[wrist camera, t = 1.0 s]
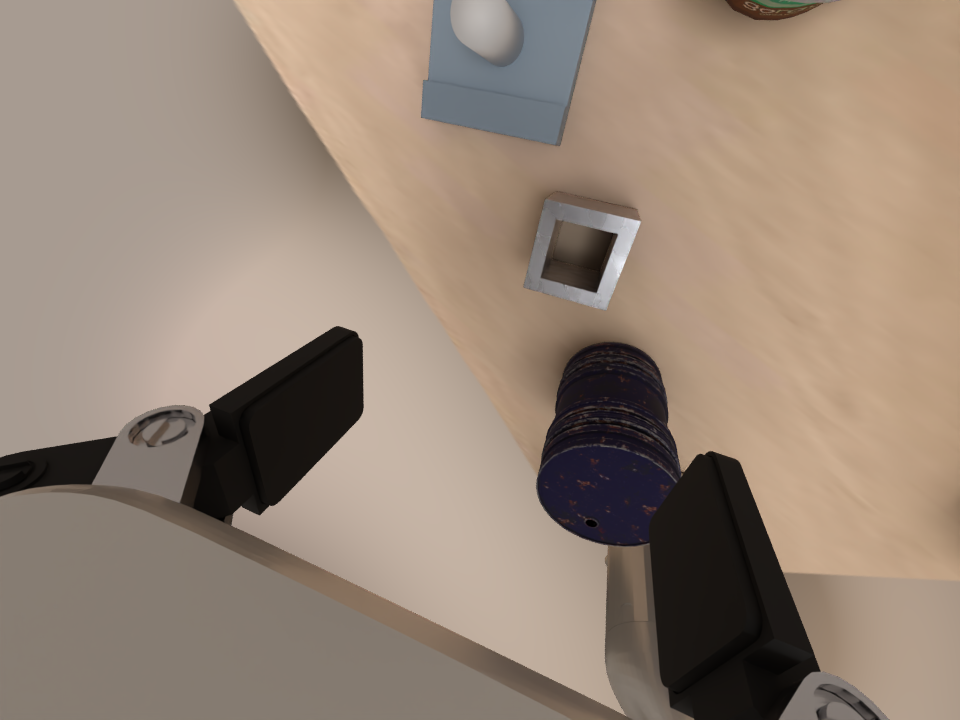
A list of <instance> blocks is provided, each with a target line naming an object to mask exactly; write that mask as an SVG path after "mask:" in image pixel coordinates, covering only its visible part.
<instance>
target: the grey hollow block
mask: <svg viewBox="0 0 960 720" xmlns="http://www.w3.org/2000/svg"><path fill="white" fill-rule="evenodd" d="M562 221H566V222H570V223H574V224H578V225H582V226H587V227H591V228H595V229H599V230H603V231H607V232H611V233H614V234H613V237H612V240H611V242H610V245H609V248H608V251H607V254H606V256H605V259H604V262H603V265H602V267H601V270H600V272H599V271H596V270H592V269H588V268H584V267H581V266H577V265H573V264H569V263H565V262H562V261H558V260H554V259H552V257H553V253H554V250H555V246H556V243H557V239H558V236H559V232H560V229H561V225H562ZM640 223H641V219H640V216H639V213H638V210H637V209H633V208H628V207H624V206H620V205H615V204H611V203H607V202H602V201H598V200H593V199H589V198H585V197H580V196H576V195H572V194H567V193H563V192H558V191H557V192H555V193H554V194H552V195H551V196H549V197H548V198H546V199H545V202H544V206H543V210H542V214H541V218H540V222H539V226H538V230H537V234H536V238H535V242H534V246H533V250H532V254H531V258H530V262H529V266H528V270H527V274H526V278H525V282H524V288H527V289H531V290H534V291H538V292H542V293H545V294H549V295H552V296H556V297H559V298H563V299H566V300H570V301H573V302H577V303H580V304H584V305H587V306H591V307H595V308H598V309H602V310H605V311H606V309H607V307H608V304H609V302H610V299H611V297H612V294H613V292H614V289H615V286H616V284H617V281H618V279H619V276H620V274H621V271H622V269H623V266H624V264H625V261H626V259H627V256H628V254H629V251H630V249H631V246H632V244H633V241H634V238H635V236H636V233H637V231H638V228H639V226H640Z"/></svg>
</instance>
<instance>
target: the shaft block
mask: <svg viewBox="0 0 960 720" xmlns="http://www.w3.org/2000/svg"><path fill="white" fill-rule="evenodd" d="M595 3H596V0H434V4H433V18H432V32H431V46H430V61H429V75H428V81H427V80H423V94H422V110H421V118H425V119H430V120H435V121H440V122H445V123H450V124H455V125H460V126H464V127H469V128H474V129H479V130H484V131H489V132H494V133H499V134H504V135H509V136H513V137H518V138H523V139H528V140H533V141H538V142H543V143H548V144H553V145H559V146H560V144H561V140H562V136H563V132H564V128H565V124H566V120H567V116H568V112H569V108H570V104H571V100H572V96H573V92H574V88H575V84H576V80H577V76H578V72H579V68H580V64H581V60H582V56H583V52H584V48H585V44H586V40H587V36H588V31H589V27H590V23H591V19H592V15H593V11H594V7H595Z"/></svg>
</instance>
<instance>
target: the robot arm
mask: <svg viewBox="0 0 960 720" xmlns="http://www.w3.org/2000/svg"><path fill="white" fill-rule="evenodd" d="M209 406H210V410H211V411H210V412H208V413H206V414H205V415H203V414H202V412H201V411H200V410H198V409H196V408H194V407H190V406H185V405H174V406H167V407H161V408H157V409H155V410H151V411H148V412H146V413H144V414H142V415H140V416H138V417H136V418H134V419H133V420H132V421H130V422H129V423H128V424H126V425H125V427H124V428H123V429H122V430H121V431H120V433H119V435H118V436H117V437H111V438H105V439H98V440H92V441H86V442H80V443H74V444H68V445H61V446H55V447H49V448H43V449H37V450H30V451H24V452H19V453H15V454H11V455H6V456H4V457H1V458H0V720H889V719H888V718H887V717H886V715H885V714H884V713H883V712H882V711H881V710H880V709H879V708H878V707H877V706H876V705H875V704H874V703H873V702H872V701H871V700H870V699H869V698H868V697H866V696H865V695H864V694H863V693H862V692H860V691H859V690H858V689H857V688H856V687H854V686H853V685H851V684H849V683H848V682H846V681H844V680H843V679H841V678H840V677H838V676H835V675H832V674H829V673H826V672H821V671H820V669H819V666H818V663H817V661H816V658H815V655H814V652H813V649H812V647H811V644H810V642H809V639H808V637H807V634H806V631H805V629H804V626H803V624H802V621H801V619H800V616H799V613H798V611H797V608H796V606H795V603H794V601H793V598H792V596H791V593H790V590H789V588H788V585H787V583H786V580H785V577H784V575H783V572H782V570H781V567H780V565H779V562H778V559H777V557H776V554H775V552H774V549H773V547H772V544H771V541H770V539H769V536H768V534H767V531H766V529H765V526H764V523H763V521H762V518H761V516H760V513H759V510H758V508H757V505H756V503H755V500H754V498H753V495H752V492H751V490H750V487H749V485H748V482H747V480H746V477H745V474H744V472H743V469H742V467H741V464H740V463H739V461H738V460H736V459H733V458H730V457H727V456H724V455H722V454H719V453H716V452H713V451H709V452H708V453H706V454H705V455H703V454H699V455H697V456H696V457H695V459H694V460H693V461H692V463H691V464H690V465H689V467H688V468H687V470H686V471H685V472H684V474H682V473H681V478H680V479H679V481H678V482H677V483H676V485H675V486H674V488H673V489H672V490H671V492H670V493H669V494H668V496H667V497H666V499H665V500H664V501H663V503H662V504H661V505H660V507H659V508H658V510H657V511H656V512H655V514H654V515H653V517H652V518H651V521H650V524H649V543H650V544H647V545H642V546H635V547H618V546H609V545H608V555H607V556H606V558H605V563H606V565H607V598H606V636H605V663H606V670H607V675H608V678H609V682H610V685H611V687H612V690H613V692H614V694H615V696H616V698H617V700H618V702H619V704H620V706H621V708H622V709H623V711H624V713H625V714H626V716H625V715H623V714H621V713H619V712H617V711H615V710H613V709H611V708H609V707H607V706H604V705H603V704H601V703H599V702H597V701H595V700H592V699H591V698H588V697H586V696H584V695H582V694H580V693H578V692H576V691H574V690H572V689H570V688H568V687H566V686H564V685H562V684H560V683H558V682H556V681H554V680H552V679H549V678H547V677H545V676H543V675H541V674H539V673H537V672H535V671H533V670H531V669H529V668H527V667H525V666H523V665H521V664H519V663H516V662H515V661H513V660H510V659H508V658H506V657H504V656H502V655H500V654H498V653H496V652H494V651H492V650H490V649H488V648H486V647H484V646H482V645H480V644H478V643H476V642H473V641H472V640H469V639H467V638H465V637H463V636H461V635H459V634H457V633H455V632H453V631H451V630H449V629H447V628H444V627H443V626H441V625H438V624H436V623H434V622H432V621H430V620H428V619H426V618H424V617H422V616H420V615H418V614H416V613H414V612H412V611H409V610H407V609H405V608H403V607H401V606H399V605H397V604H395V603H393V602H391V601H389V600H386V599H384V598H382V597H380V596H378V595H376V594H374V593H372V592H370V591H368V590H366V589H364V588H362V587H360V586H357V585H355V584H353V583H351V582H349V581H347V580H345V579H343V578H341V577H339V576H337V575H334V574H332V573H330V572H328V571H326V570H324V569H322V568H320V567H318V566H316V565H313V564H311V563H309V562H307V561H305V560H303V559H301V558H299V557H297V556H295V555H292V554H290V553H288V552H286V551H284V550H282V549H279V548H278V547H275V546H273V545H271V544H269V543H267V542H265V541H263V540H261V539H259V538H257V537H255V536H252V535H250V534H248V533H246V532H244V531H242V530H239V529H237V528H235V527H233V526H231V525H232V519H233V513H234V512H235V511H236V510H237V509H238V508H239V507H240V506H242V507H243V508H245V509H247V510H249V511H251V512H253V513H255V514H258V515H261V514H262V513H263V511H265V509H266V508H268V507H269V505H270V506H274V505H276V504H277V503H278V502H279V501H281V499H282V498H283V497H284V496H285V495H286V494H287V493H288V492H289V491H290V490H291V489H292V488H293V487H294V486H295V485H296V484H297V483H298V482H299V481H300V480H301V479H302V478H303V477H304V476H305V475H306V473H307V472H308V471H309V470H310V469H311V468H312V467H313V466H314V465H315V464H316V463H317V462H318V461H319V460H320V459H321V458H322V457H323V456H324V455H325V454H326V453H327V452H328V451H329V450H330V449H331V448H332V447H333V446H334V445H335V444H336V443H337V442H338V440H339V439H340V438H341V437H342V436H343V435H344V434H345V433H346V432H347V431H348V430H349V429H350V428H351V427H352V426H353V425H354V424H355V423H356V422H357V421H358V420H359V418H360V417H361V415H362V413H363V408H364V404H363V344H362V340H361V339H360V338H359V337H358V334H357V333H356V332H355V331H352V330H349V329H346V328H343V327H339V326H336V327H334V328H332V329H330V330H329V331H327V332H325V333H324V334H322V335H321V336H319V337H317V338H316V339H314V340H313V341H311V342H309V343H308V344H306V345H305V346H303V347H301V348H300V349H298V350H297V351H295V352H293V353H292V354H290V355H288V356H287V357H285V358H284V359H282V360H281V361H279V362H277V363H276V364H274V365H272V366H271V367H269V368H268V369H266V370H264V371H263V372H261V373H259V374H258V375H256V376H255V377H253V378H251V379H250V380H248V381H247V382H245V383H243V384H242V385H240V386H238V387H237V388H235V389H234V390H232V391H231V392H229V393H227V394H226V395H224V396H222V397H221V398H220V399H218V400H216V401H214V402H213V403H211V404H210V405H209Z"/></svg>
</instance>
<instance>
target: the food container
mask: <svg viewBox="0 0 960 720" xmlns="http://www.w3.org/2000/svg"><path fill="white" fill-rule="evenodd" d="M726 1H727V3H728V4H729V5H730V6H731V8H732V9H733V10H735V11H737V12H739V13H742V14H744V15H746V16H748V17H750V18H753V19H755V20H780V19H785V18H790V17H794V16H796V15H799V14H802V13H805V12H807V11H809V10H811V9H813V8H815V7H817V6H819V5H821V4H823V3H826V2H834V1H839V0H726Z"/></svg>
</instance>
